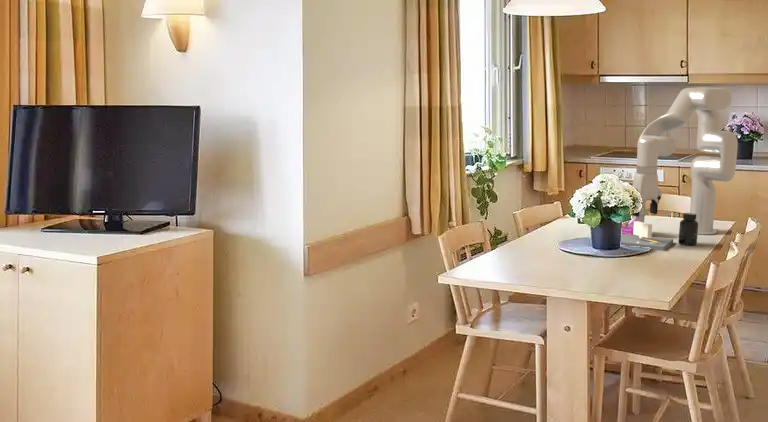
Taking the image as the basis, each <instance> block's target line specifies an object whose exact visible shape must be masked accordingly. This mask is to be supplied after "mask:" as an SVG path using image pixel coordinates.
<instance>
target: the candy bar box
mask: <svg viewBox="0 0 768 422" xmlns="http://www.w3.org/2000/svg"><path fill="white" fill-rule="evenodd" d="M646 201H647V200H646ZM646 201H643V208H642V210H641V211H640V212H639V217H637V216H632V220H631V221H628V222H625V223H623V224H622V234H630V235H634V234H633V228H634V221H639V222H643V223H645V218H646V217H645V215H646V214H645V213H646V203H647V202H646Z"/></svg>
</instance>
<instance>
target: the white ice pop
mask: <svg viewBox="0 0 768 422" xmlns="http://www.w3.org/2000/svg"><path fill="white" fill-rule="evenodd" d="M652 232H653V224H651V223H646V222H644V223H643V222H639V221H634V228H633V234H634V235H638V236H639V239H644V240H648V241H652V242H656V243H658V241H654V240H650V239H646V238H651V237H653V235H652ZM645 237H646V238H645Z"/></svg>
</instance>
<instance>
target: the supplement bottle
mask: <svg viewBox="0 0 768 422" xmlns="http://www.w3.org/2000/svg"><path fill="white" fill-rule="evenodd" d="M682 215H683V216H682V218H683V219H681V220H680V221H679V229H678V230H679V231H678V244H679V245H682V246H690V247H692V246H697V244H698V235H699V234H698V222H697V221H696V214H694V213H690V212H684V213H683V214H682Z"/></svg>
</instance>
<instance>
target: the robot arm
mask: <svg viewBox="0 0 768 422" xmlns="http://www.w3.org/2000/svg"><path fill="white" fill-rule="evenodd" d="M732 99H733V96H732V93H731V91H730V89H728V88H726V87H708V86H700V87H699V86H696V87H686V88H683V89H682V90H680V92H679V93H678V95H677V96H676V98H675V100H674V101H673V103H672V105H671V106H670V107H669V108H668V110H667V112H666V113H665V114H663V115H661V116H659V117H658V118H656V119H655V120H653V121H651V122H650V123H649V124H647V126H646V127H645V128H644V130H642V133H641V134H640V136H639V138H638V140H637V144H636V145H637V150H636V151H637V152H636V155H637V156H636V172H635V174H634V176H633V180H632V187H634V188H635V189H636V190H637V191H638V192H639V193H640V195H641V198H642V201H650V203H649V213H650V214H653V215H657V214H658V207H659V206H658V205H659V203H660V200H661V198H662V195H663V194H664V193H663V190H661V189H659V176H658V169H659V168H658V159H659V157H669V156H671V155H672V154H673V153H674V152H675V151H676V148H677V147H676V142H675V140H674V139H673V138H672V137H669V136H663V135H664V134H665V133H668V132H673V131H676V130H679V129H681V128H683V127H685V126H686V125H687V124H688V122H689V120H690V119H691V117H692V115H693V114H694V112H695V113H696V115H697V132H696V133H697V134H696V148H697V150H698V151H699V152H701V153H706V154H715V155H719V156H720V157H719V156H718V157H717V156H708V155H700V156H699V155H698V156H696V157H694V159H692V160H691V163H690V175H691V190H690V191H691V194H690V205H689V206H690V207H689V208H690V209H689V213H694V214H696V221H697V222H698V235H708V236H709V235H716V234H717V231H718V230H716V228H714V221H715V220H714V219H715V206H716V197H717V189H716V186H715V184H714V182H713V181H715V182H723V183H724V182H725V183H727V182H730V181H732V179H733V178H734V177H735V174H736V169H737V157H738V145H739V144H738V137H737V136H736V134H735V133H734V132H732V131H729V130H721V115H720V113H719V111H722V110H726V109H727V108H729V106H730V105H731V104H732ZM632 187H631V188H632ZM632 216H637V217H639V212H638V213H635V214H633V215H632Z"/></svg>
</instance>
